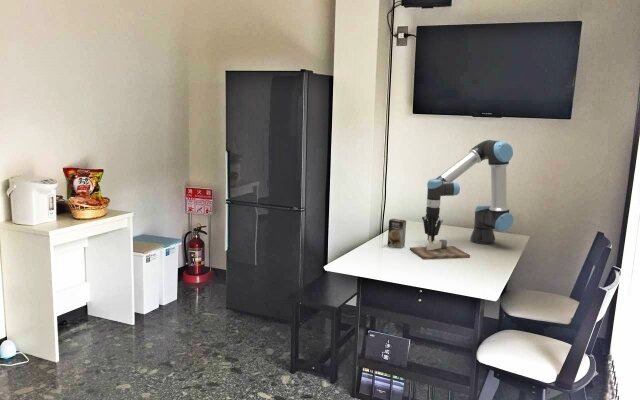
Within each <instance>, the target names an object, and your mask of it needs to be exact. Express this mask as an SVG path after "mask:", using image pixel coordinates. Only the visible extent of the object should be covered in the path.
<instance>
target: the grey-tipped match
mask: <svg viewBox="0 0 640 400" xmlns="http://www.w3.org/2000/svg"><path fill="white" fill-rule="evenodd" d="M447 246H448V240H446V239H439V241H433V243H429V244H428V243H426V247H427V250H433V249H439V248H441V249H446V248H447Z"/></svg>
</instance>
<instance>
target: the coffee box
mask: <svg viewBox="0 0 640 400" xmlns="http://www.w3.org/2000/svg"><path fill="white" fill-rule="evenodd" d="M406 228H407V220H405V219H397V218H391V219H389V220H388V234H387V236H388V237H387V247H389V248H391V247H392V248H396V249H403V248H404V247H405V246H406V245H405V243H406V234H407V233H406V232H407V229H406Z"/></svg>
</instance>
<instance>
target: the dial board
mask: <svg viewBox="0 0 640 400" xmlns="http://www.w3.org/2000/svg"><path fill="white" fill-rule="evenodd" d="M409 251H410V252H412V253H413V254H415V255H416V256H418V257H419V258H420V259H422V260H440V259H441V260H442V259H443V260H444V259H447V260H448V259H469V258H470V257H471V255H470V254H469V253H467V252H465V251H464V250H462V249H460V248H458V247H456V246H454V245H447V248H446V249H441V248H439V249H433V250H427V246H420V247H419V246H414V247H412V246H411V247H409Z"/></svg>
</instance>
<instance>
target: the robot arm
mask: <svg viewBox="0 0 640 400" xmlns="http://www.w3.org/2000/svg"><path fill="white" fill-rule="evenodd" d="M513 156H514V150H513V147H512V145H511V144H510V143H509V142H507V141H503V140H492V139H486V140H484V141H482V142H479V143H477V145H475V146H474V147H472V148H471V149H469V150H468V153H467V154H465V156H463V157H462V158H460V160H458V161H457V162H456V163H454V164H453V165H452V166H450V167H449V168H448V169H447V170H445V171H444V172H443V173H441V174H440V175H439V176H437V177H436V178H431V179H429V180H428V181H427V184H426V187H427V195H426V209H425V210H426V211H425V212H426V214H425V216H422V218H421V219H422V221H423V229H424V234H426V235H427V242H428V243H427V244H429V243H434V242H435V237H436V236H438V235H439V232H440V228H441V225H442V223H443V221H444V220H443V219H441V218H440V214H441V213H440V212H441V211H440V210H441V208H440V207H441V198H442V197H450V196H451V197H454V196H457V195H459V194H460V191H461V187H460V184H459V183H458V182H454V181H455V180H457V179H458V178H459V177H461V176H462V175H463V174H464V173H466V172H467V171H468V170H469V169H471V168H472V167H473V166H475V164H477V163H478V164H480V163H481V162H483V161H485V160H487V161H488V162H487V163H488V165H489V167H490V172H491V173H490V177H491V178H490V181H491V182H490V183H491V187H490V188H491V205H478V206H476V207H475V210H474V220H473V221H474V222H473V223H474V224H473V230H472V232H471V235H470V237H469V238H470V239H469V240H470V242H471V243H475V244H480V245H494V244H495V243H496V237H495V232H494V230H496V231H498V232H499V231H500V232H507V231H508V230H510V229H511V227H512V226H513V225H514V216H513V214H512V213H510V207H509V206H508V205H507V196H508V195H507V194H508V193H507V167H508V165H509V164H510V161H511V159H512V158H513Z"/></svg>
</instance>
